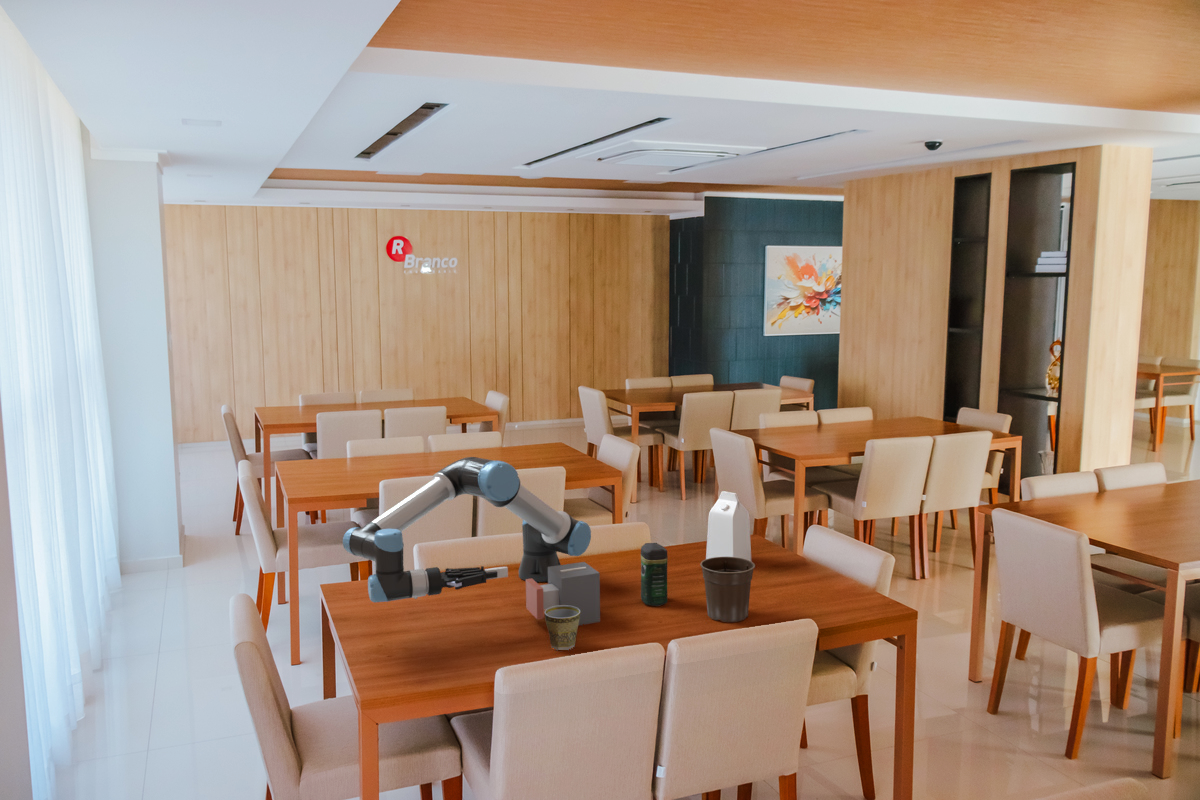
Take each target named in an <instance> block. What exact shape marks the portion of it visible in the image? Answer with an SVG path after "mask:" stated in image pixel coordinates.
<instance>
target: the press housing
mask: <svg viewBox="0 0 1200 800" xmlns="http://www.w3.org/2000/svg"><path fill="white" fill-rule="evenodd" d="M600 573H601V572H599V571H598V570H596V569H595V568H593V567H592V566H591V565H589V564H588V563H586V562H585V561H581V562H574V563H567V564H561V565H558V566H551V567H548V581H547V584H553V585H555V586H556V587H557V588H558V589H559V605H569V606H574V607H577V608H578V609H580V619H579V624H578V626H584V625H589V624H595V623H601V589H600V588H601V581H600V579H601V578H600ZM583 624H584V625H583Z"/></svg>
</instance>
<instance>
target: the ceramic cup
mask: <svg viewBox="0 0 1200 800" xmlns="http://www.w3.org/2000/svg"><path fill="white" fill-rule="evenodd" d="M579 619H580V609H578V608H577V607H574V606H569V605H558V606H553V607H550V608H548V609H545V610H544V620H545V624H546V627H547V631H548V637H549V641H550V646H551V647H550V648H551V649H552V648H554V649H553V650H555V649H556V650H555V651H558V650H568V651H569V649H570V650H572V649H574V648H575V645H576V639H577V633H578V627H579V625H578V624H579ZM573 647H574V648H573ZM571 648H572V649H571Z"/></svg>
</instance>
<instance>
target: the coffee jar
mask: <svg viewBox="0 0 1200 800" xmlns="http://www.w3.org/2000/svg"><path fill="white" fill-rule="evenodd" d="M668 562H669V561H668V550H667V548H666V547H665V546H664V545H661V544H659V543H657V542H646V543H644V544H643V545H642V546H641V547H640V568H641V570H640V599H641V601H642V602H643V603H644V605H646V606H654V607H659V606H660V607H661V606H662V605H666V604H668Z"/></svg>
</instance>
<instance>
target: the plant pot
mask: <svg viewBox="0 0 1200 800" xmlns="http://www.w3.org/2000/svg"><path fill="white" fill-rule="evenodd" d="M700 567H701V569H702V570H701V571H702V578H703V579H704V580H703V581H704V589H705V599H706V601H705V602H706V609H707V617H708V618H710V619H712V620H714V621H721V622H723V623H739V622H742V621H744V620H745V619H746V618H748V617H749V609H750V607H749V606H750V594H751V585H752V580H753V573H754V569H755V567H756V564H755V563H754V562H753V561H752V560H751V561H749V560H747V559H743V558H737V557H714V558H709V559H706V558H705V559H703V560H702V561H701V562H700Z"/></svg>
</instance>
